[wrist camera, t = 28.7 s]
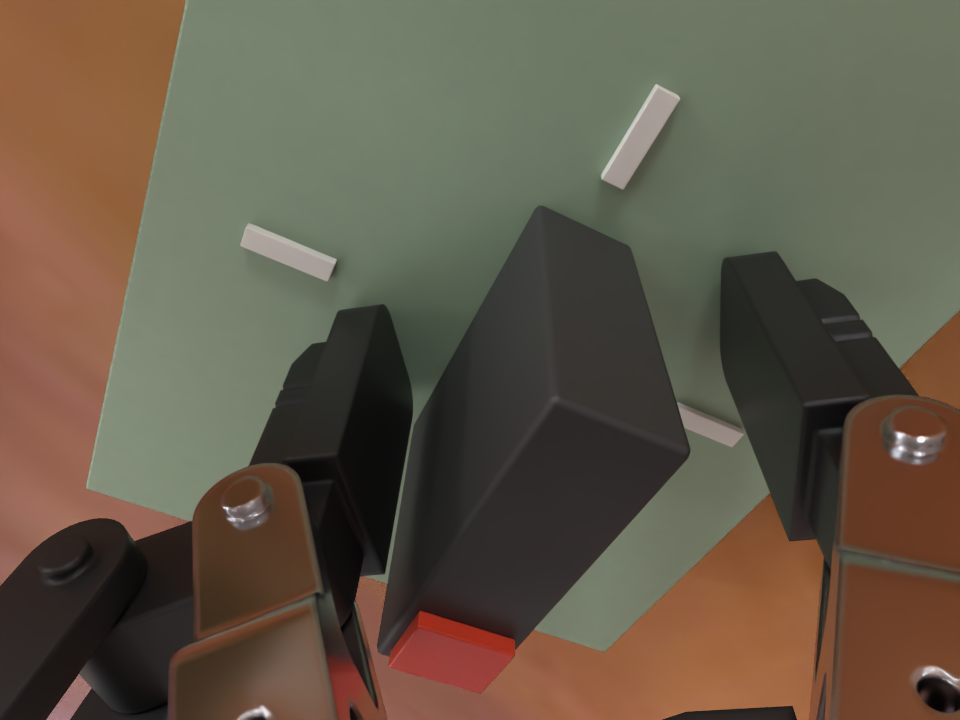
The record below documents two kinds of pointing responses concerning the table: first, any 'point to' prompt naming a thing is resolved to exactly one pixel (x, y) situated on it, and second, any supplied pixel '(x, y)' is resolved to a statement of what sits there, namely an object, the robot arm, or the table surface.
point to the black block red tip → (528, 454)
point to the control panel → (524, 213)
